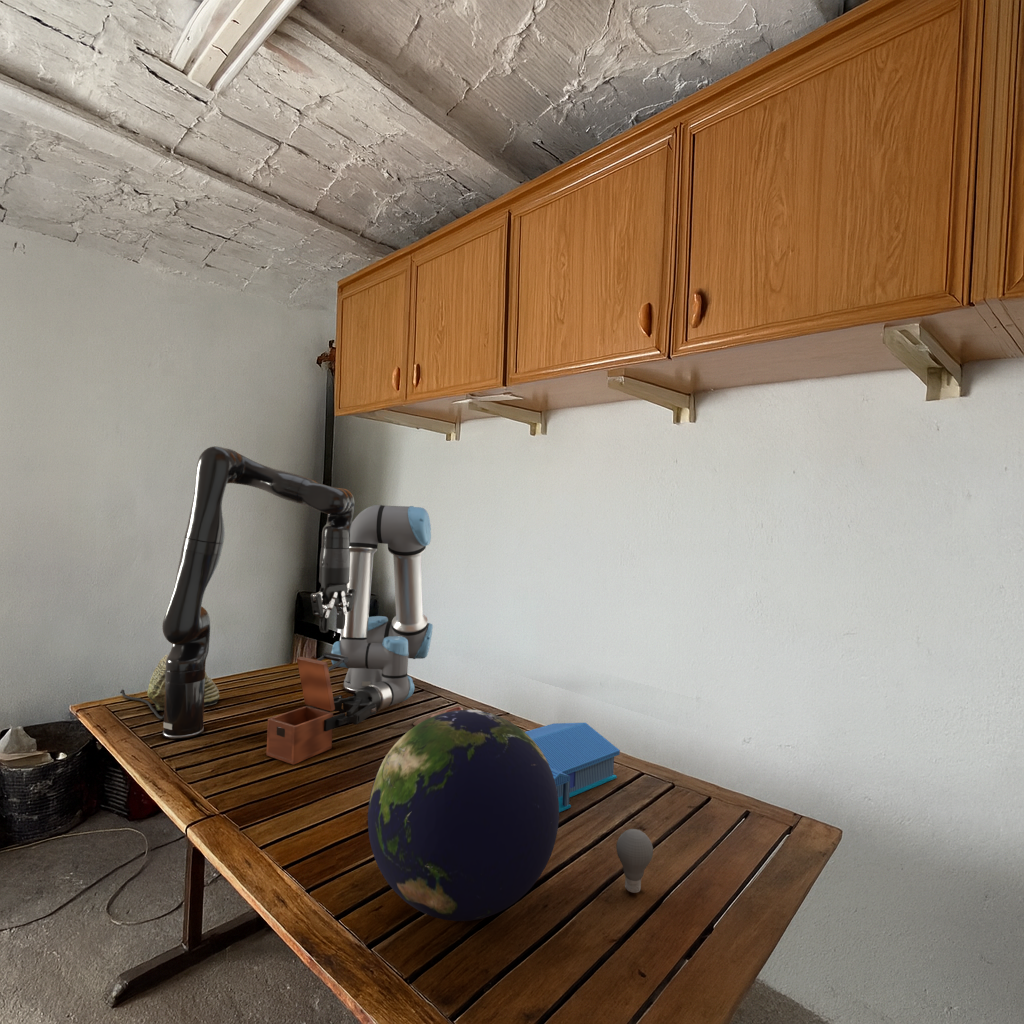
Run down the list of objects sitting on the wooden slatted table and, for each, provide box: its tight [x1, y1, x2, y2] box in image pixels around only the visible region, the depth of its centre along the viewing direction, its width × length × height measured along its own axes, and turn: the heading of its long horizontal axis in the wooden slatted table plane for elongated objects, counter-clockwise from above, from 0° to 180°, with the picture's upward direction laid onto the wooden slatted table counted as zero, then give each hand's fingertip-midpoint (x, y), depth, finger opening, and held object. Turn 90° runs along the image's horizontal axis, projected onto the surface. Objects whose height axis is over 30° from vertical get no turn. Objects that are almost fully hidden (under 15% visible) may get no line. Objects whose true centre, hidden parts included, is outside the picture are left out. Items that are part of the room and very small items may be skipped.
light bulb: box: [615, 828, 654, 894], centre depth 106 cm, size 6×6×10 cm
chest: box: [265, 705, 334, 766], centre depth 156 cm, size 12×9×9 cm
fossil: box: [147, 654, 221, 712], centre depth 185 cm, size 9×18×15 cm, turn 132°
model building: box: [524, 722, 621, 813], centre depth 143 cm, size 39×24×10 cm, turn 132°
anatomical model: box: [412, 706, 464, 727], centre depth 179 cm, size 13×4×12 cm
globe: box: [367, 709, 560, 922], centre depth 100 cm, size 30×30×30 cm
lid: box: [296, 651, 348, 713], centre depth 163 cm, size 13×9×9 cm
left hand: (332, 630), depth 164 cm, fingers open, 5 cm apart
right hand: (310, 721), depth 159 cm, fingers closed on chest, 9 cm apart
